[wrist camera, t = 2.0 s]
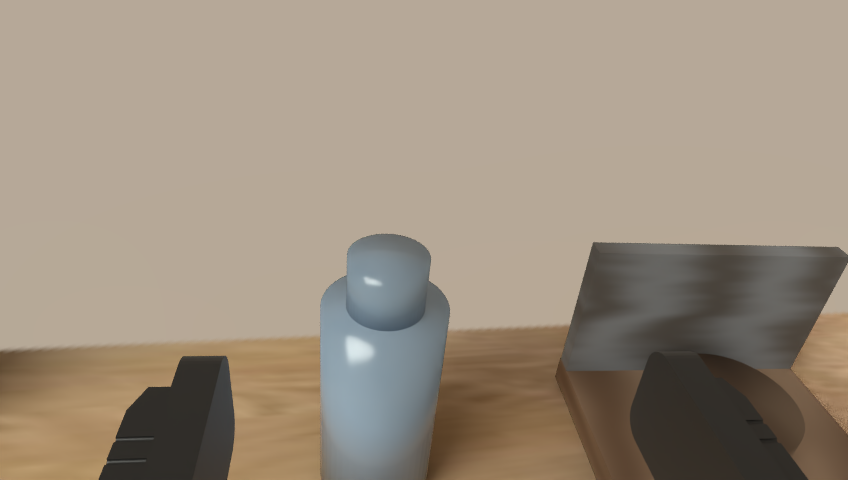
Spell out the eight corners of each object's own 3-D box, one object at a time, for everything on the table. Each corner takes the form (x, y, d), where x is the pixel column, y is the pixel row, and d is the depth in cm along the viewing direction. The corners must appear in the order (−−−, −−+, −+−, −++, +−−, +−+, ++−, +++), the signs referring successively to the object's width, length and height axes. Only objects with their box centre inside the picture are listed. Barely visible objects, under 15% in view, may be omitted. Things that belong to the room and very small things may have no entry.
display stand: (610, 513, 29) (670, 363, 24) (555, 376, 36) (592, 241, 31) (874, 501, 31) (980, 360, 26) (770, 373, 38) (836, 246, 33)
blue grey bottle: (318, 518, 27) (317, 296, 21) (322, 427, 32) (322, 220, 25) (433, 513, 28) (467, 297, 22) (421, 424, 32) (446, 222, 26)
